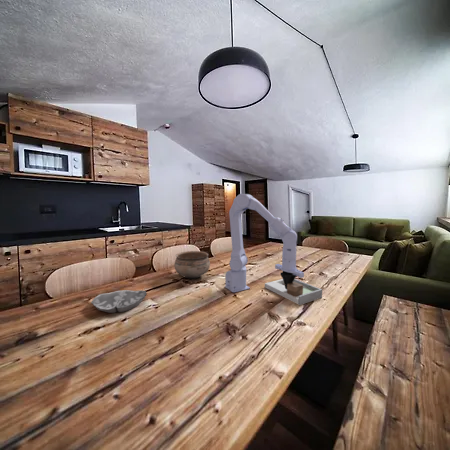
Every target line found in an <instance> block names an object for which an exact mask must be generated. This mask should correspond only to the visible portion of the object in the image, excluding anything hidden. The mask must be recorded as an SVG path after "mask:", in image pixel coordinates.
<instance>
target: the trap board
mask: <svg viewBox="0 0 450 450" xmlns="http://www.w3.org/2000/svg"><path fill="white" fill-rule="evenodd" d="M293 282H296V283H299V284H301V285H303V295H300V296H297V297H294V296H292V295H290V294H288V293H287V289H285V285H284V281H283V278H281V279H277V280H274V281H268V282H265V283H264V288H266V289H267V290H269V291H271V292H273V293H275V294H277V295H278V296H281V297H283V298H285V299H287V300H289V301H291V302H293V303H294V304H296V305H299V306H302V305H305V304H306V303H307V304H308V303H310V302H312V301H315V300H316V301H317V300H319V299H321V298H323V288H319V287H316V286H314V285H312V284H309V283H306V282H304V281H301V280H299V279H296V278H295V279H294V281H293Z"/></svg>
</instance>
